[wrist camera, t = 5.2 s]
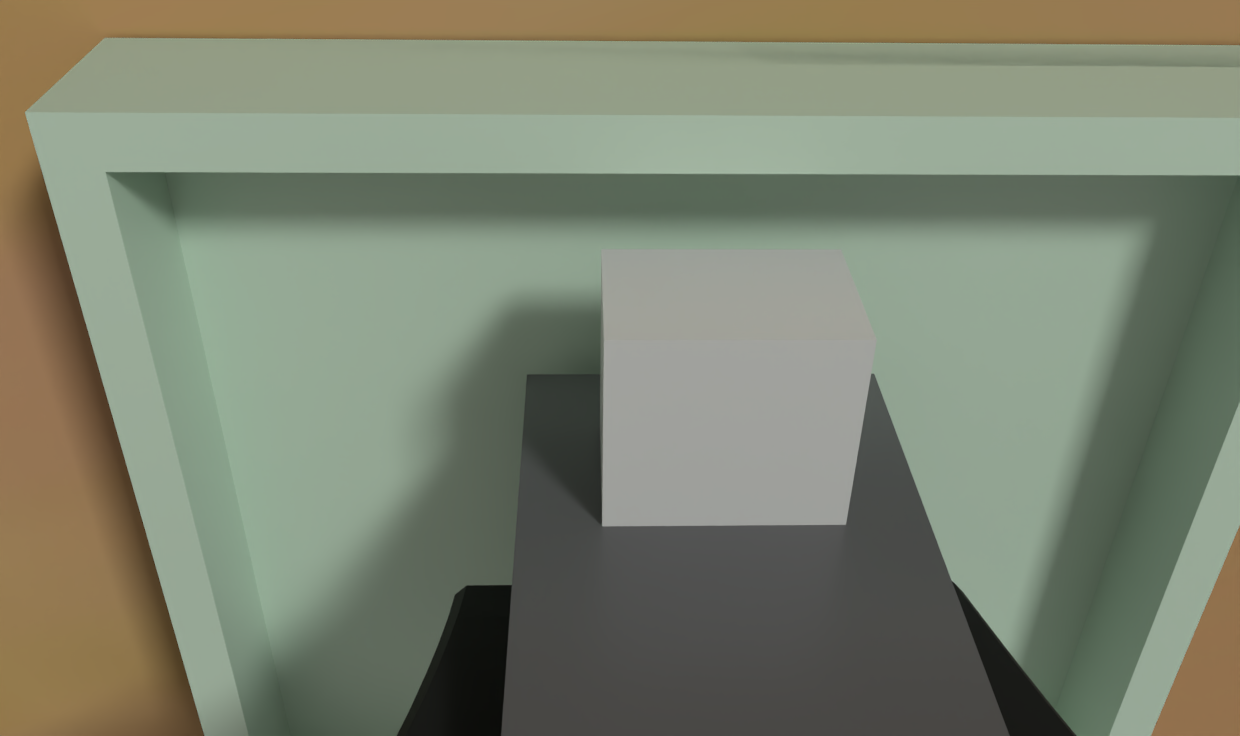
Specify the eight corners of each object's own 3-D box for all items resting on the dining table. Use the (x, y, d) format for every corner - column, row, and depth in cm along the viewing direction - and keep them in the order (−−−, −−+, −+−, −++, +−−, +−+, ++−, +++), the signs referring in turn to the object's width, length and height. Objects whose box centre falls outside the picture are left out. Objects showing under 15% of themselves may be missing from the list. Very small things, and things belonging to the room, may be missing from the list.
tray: (1053, 738, 16) (1100, 853, 15) (273, 748, 16) (242, 866, 14) (1295, 45, 11) (1410, 118, 9) (104, 38, 10) (24, 112, 9)
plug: (819, 699, 14) (934, 1237, 9) (538, 704, 14) (517, 1248, 9) (902, 206, 10) (1157, 698, 6) (520, 206, 10) (470, 704, 6)
